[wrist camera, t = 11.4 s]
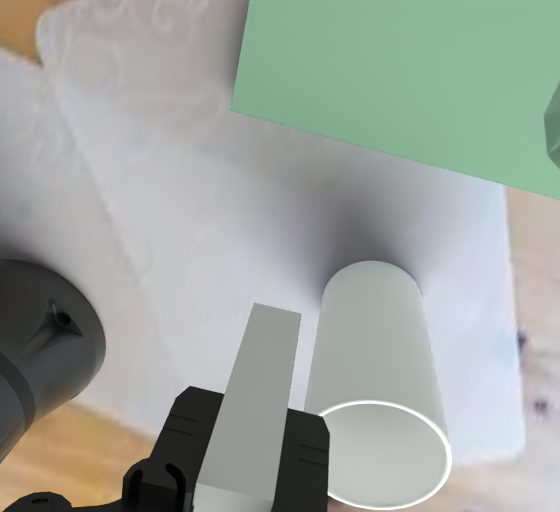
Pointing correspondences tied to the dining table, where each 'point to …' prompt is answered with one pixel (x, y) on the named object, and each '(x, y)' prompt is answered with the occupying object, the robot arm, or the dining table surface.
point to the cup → (378, 390)
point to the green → (414, 80)
